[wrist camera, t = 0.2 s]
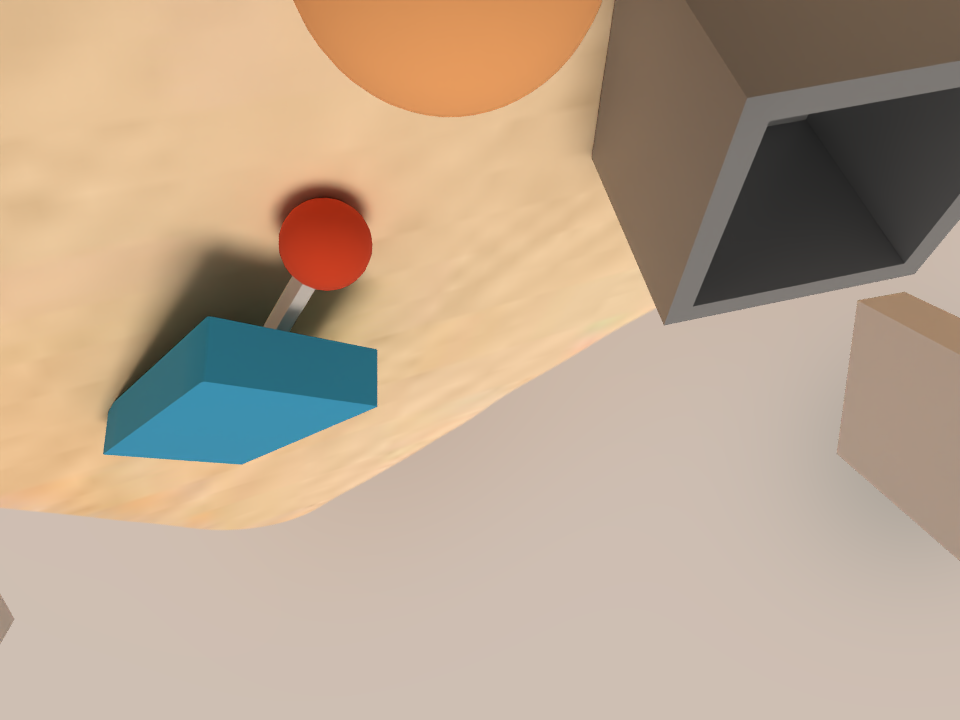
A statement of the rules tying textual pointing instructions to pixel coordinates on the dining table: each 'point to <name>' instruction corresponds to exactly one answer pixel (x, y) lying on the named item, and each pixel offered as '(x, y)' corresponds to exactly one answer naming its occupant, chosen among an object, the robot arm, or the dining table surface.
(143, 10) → the dining table surface
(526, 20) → the ball
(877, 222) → the square storage bin
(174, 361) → the lever
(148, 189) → the dining table surface
